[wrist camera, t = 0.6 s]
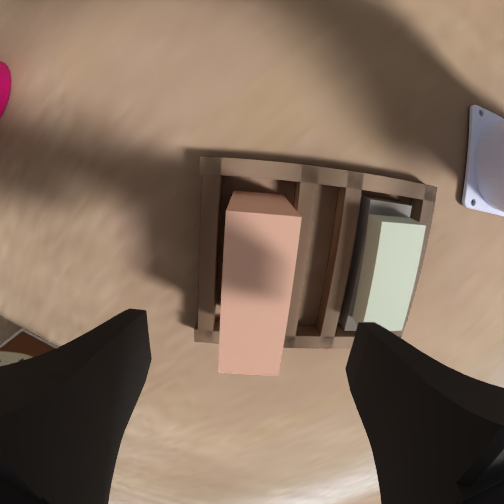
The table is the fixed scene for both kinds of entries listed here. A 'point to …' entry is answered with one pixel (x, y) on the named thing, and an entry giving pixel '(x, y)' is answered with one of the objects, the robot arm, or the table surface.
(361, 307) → the upper offcut
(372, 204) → the lower offcut
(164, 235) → the table surface
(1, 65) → the pepper mill
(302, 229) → the rack
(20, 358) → the food container
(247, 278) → the pink rectangular prism
